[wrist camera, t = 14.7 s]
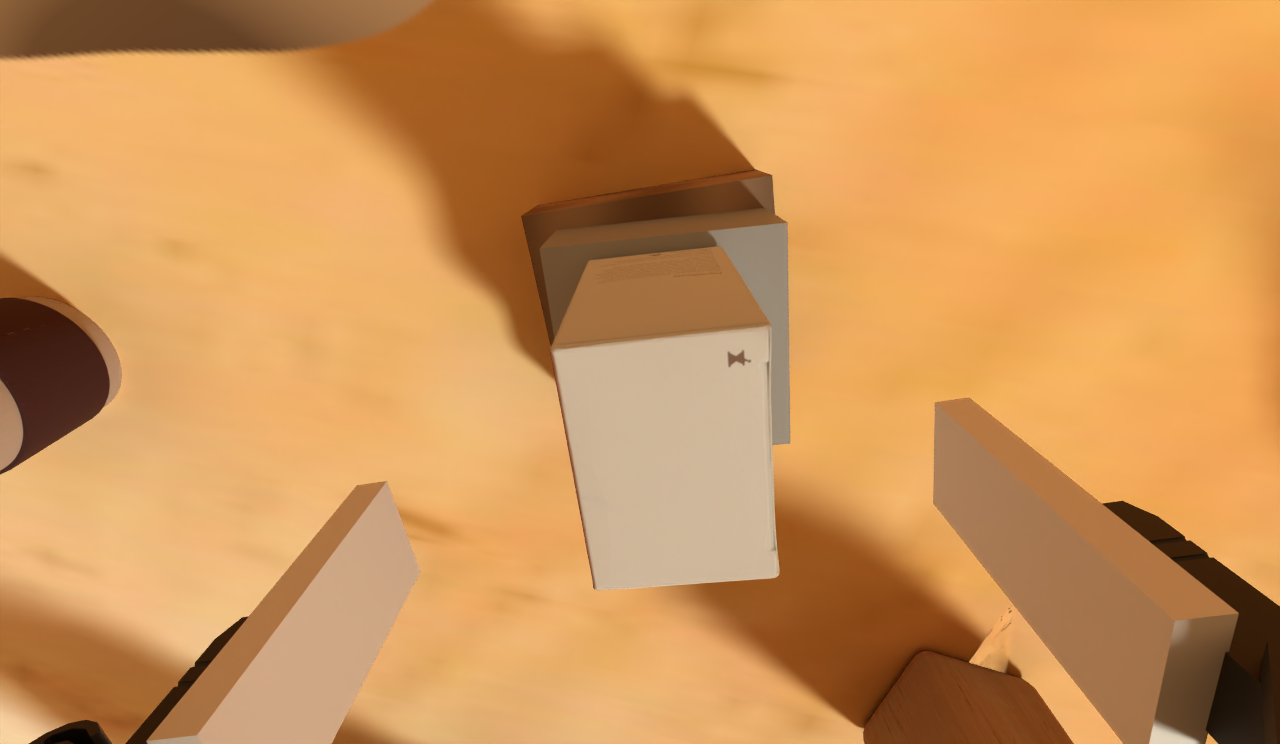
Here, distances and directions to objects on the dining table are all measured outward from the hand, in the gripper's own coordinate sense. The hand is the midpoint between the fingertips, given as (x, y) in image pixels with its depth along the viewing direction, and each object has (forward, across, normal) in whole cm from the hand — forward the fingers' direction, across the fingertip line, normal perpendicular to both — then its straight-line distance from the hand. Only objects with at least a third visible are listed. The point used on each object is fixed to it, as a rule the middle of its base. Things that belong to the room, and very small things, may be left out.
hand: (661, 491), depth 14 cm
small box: (+12, 0, 0) cm, 12 cm away
